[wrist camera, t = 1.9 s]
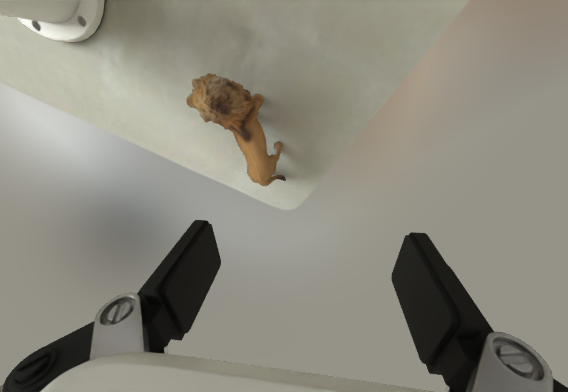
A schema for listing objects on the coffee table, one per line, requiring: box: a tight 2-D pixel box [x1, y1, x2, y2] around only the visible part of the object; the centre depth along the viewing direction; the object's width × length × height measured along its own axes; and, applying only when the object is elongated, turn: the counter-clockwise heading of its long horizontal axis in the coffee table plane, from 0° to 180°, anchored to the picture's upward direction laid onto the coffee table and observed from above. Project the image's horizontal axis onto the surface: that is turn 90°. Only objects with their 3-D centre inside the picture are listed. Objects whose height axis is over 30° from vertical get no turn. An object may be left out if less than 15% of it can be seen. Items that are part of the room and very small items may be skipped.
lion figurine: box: [187, 74, 286, 186], centre depth 23 cm, size 15×5×9 cm, turn 29°
